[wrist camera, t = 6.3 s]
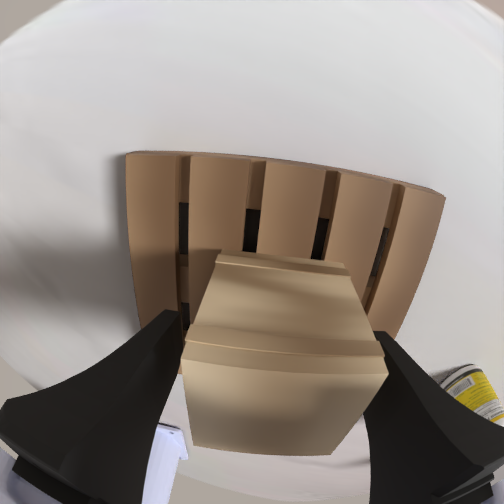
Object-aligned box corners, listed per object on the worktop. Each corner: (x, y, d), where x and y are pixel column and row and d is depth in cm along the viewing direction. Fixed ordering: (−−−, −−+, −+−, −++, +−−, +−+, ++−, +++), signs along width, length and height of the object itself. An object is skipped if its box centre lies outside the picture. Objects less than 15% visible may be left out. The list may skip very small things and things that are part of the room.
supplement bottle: (459, 398, 18) (488, 474, 10) (421, 405, 19) (448, 493, 10) (489, 360, 16) (531, 439, 7) (452, 364, 16) (496, 461, 7)
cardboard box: (217, 340, 13) (192, 445, 8) (220, 247, 11) (178, 356, 6) (317, 350, 13) (330, 455, 8) (344, 262, 11) (391, 372, 6)
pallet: (154, 346, 17) (144, 366, 15) (138, 150, 11) (119, 155, 10) (365, 368, 16) (371, 388, 15) (431, 188, 11) (450, 198, 10)
